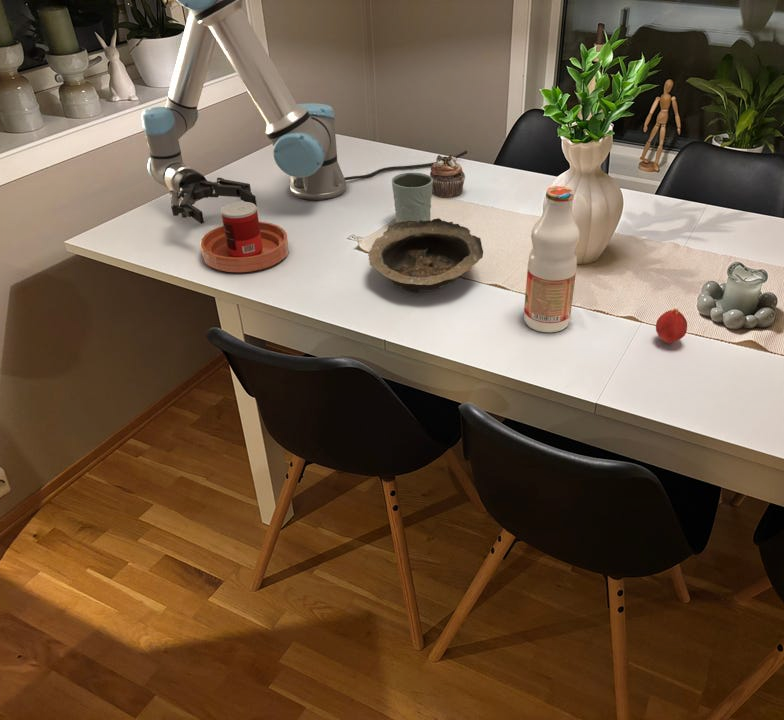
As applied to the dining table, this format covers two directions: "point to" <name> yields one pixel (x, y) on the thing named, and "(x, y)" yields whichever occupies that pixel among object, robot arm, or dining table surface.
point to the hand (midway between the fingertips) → (228, 209)
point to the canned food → (242, 229)
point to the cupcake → (447, 177)
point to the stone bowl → (425, 253)
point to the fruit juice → (552, 264)
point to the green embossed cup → (412, 196)
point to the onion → (671, 326)
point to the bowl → (221, 260)
